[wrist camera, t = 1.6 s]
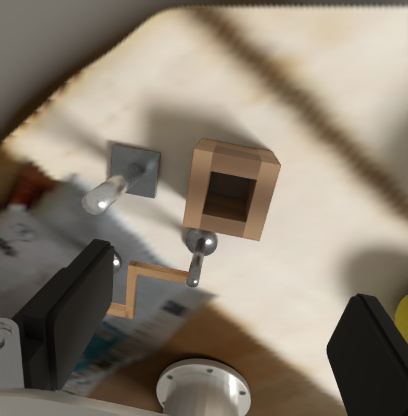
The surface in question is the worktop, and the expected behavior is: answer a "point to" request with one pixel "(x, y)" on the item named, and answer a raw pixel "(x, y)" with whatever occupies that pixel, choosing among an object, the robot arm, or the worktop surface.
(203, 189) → the open wooden box
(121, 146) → the peg stand
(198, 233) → the buzz wire
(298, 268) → the worktop surface
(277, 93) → the worktop surface
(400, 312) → the lemon
